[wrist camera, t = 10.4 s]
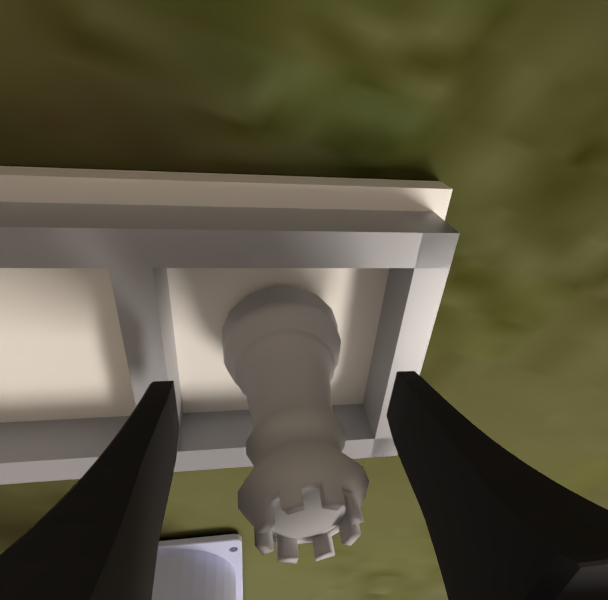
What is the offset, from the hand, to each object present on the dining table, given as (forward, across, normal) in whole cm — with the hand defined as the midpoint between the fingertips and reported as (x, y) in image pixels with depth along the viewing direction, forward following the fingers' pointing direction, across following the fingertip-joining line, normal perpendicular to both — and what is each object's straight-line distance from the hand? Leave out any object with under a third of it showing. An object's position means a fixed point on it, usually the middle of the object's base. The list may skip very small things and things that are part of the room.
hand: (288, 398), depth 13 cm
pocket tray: (+4, +5, 0) cm, 6 cm away
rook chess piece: (+4, 0, 0) cm, 4 cm away
